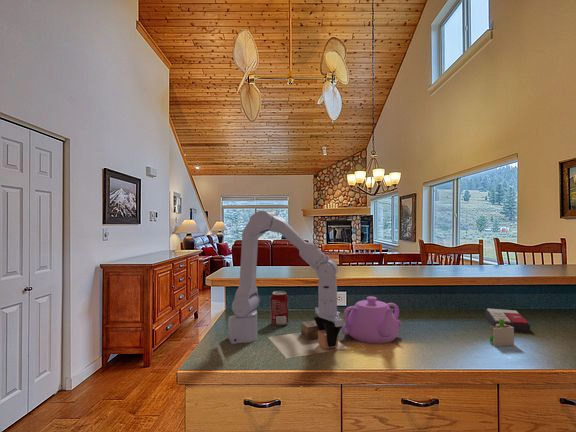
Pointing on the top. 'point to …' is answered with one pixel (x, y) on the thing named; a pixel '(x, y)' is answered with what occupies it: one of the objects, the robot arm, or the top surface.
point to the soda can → (279, 308)
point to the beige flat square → (300, 345)
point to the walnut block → (309, 329)
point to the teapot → (372, 321)
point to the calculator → (507, 319)
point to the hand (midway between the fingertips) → (327, 343)
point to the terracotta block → (324, 339)
